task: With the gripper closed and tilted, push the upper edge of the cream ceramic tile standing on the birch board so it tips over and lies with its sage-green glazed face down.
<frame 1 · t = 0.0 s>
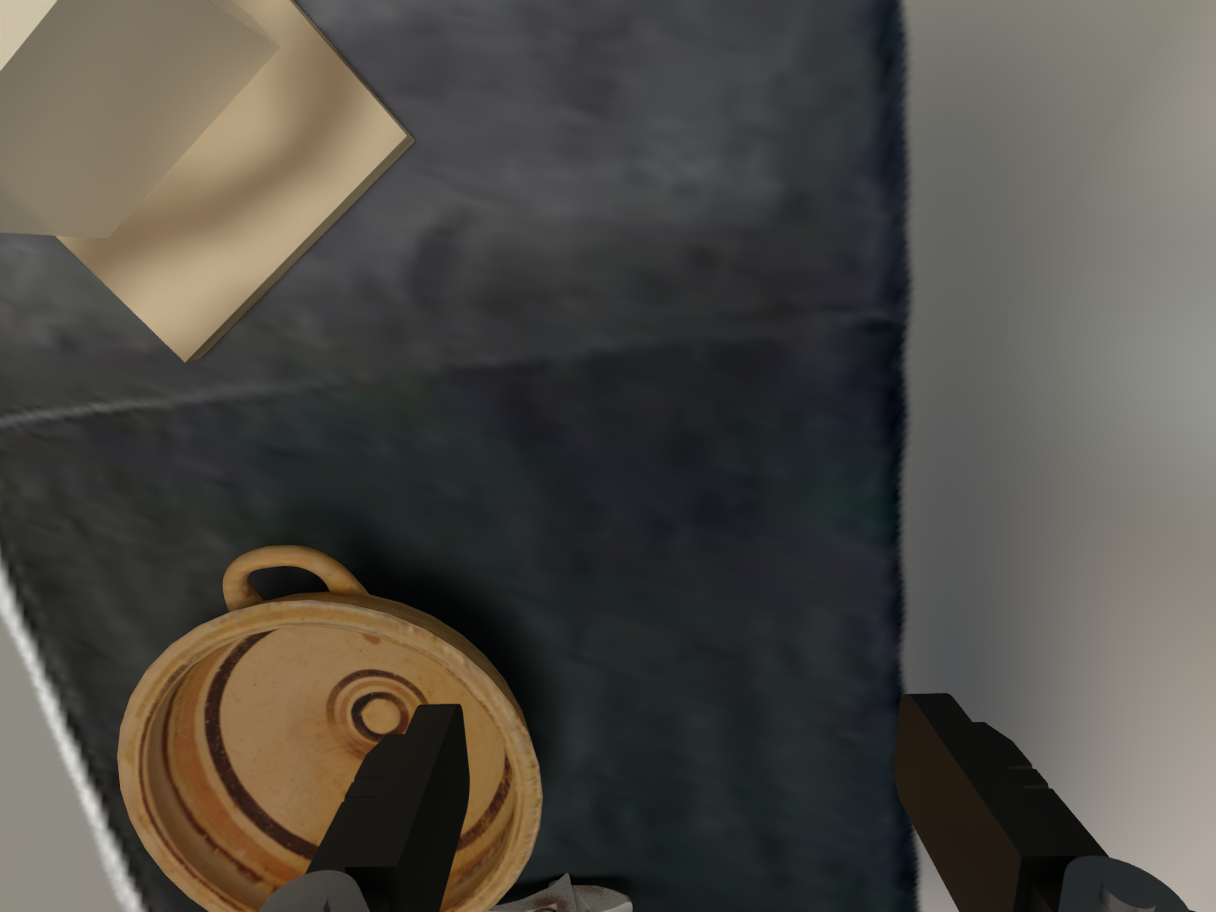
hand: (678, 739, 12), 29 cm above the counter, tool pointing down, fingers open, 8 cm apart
ceramic bowl: (377, 706, 47), on the counter
board: (135, 76, 36), on the counter
wrench: (444, 889, 51), on the counter
tile: (175, 130, 35), point 1 cm above the counter, touching board
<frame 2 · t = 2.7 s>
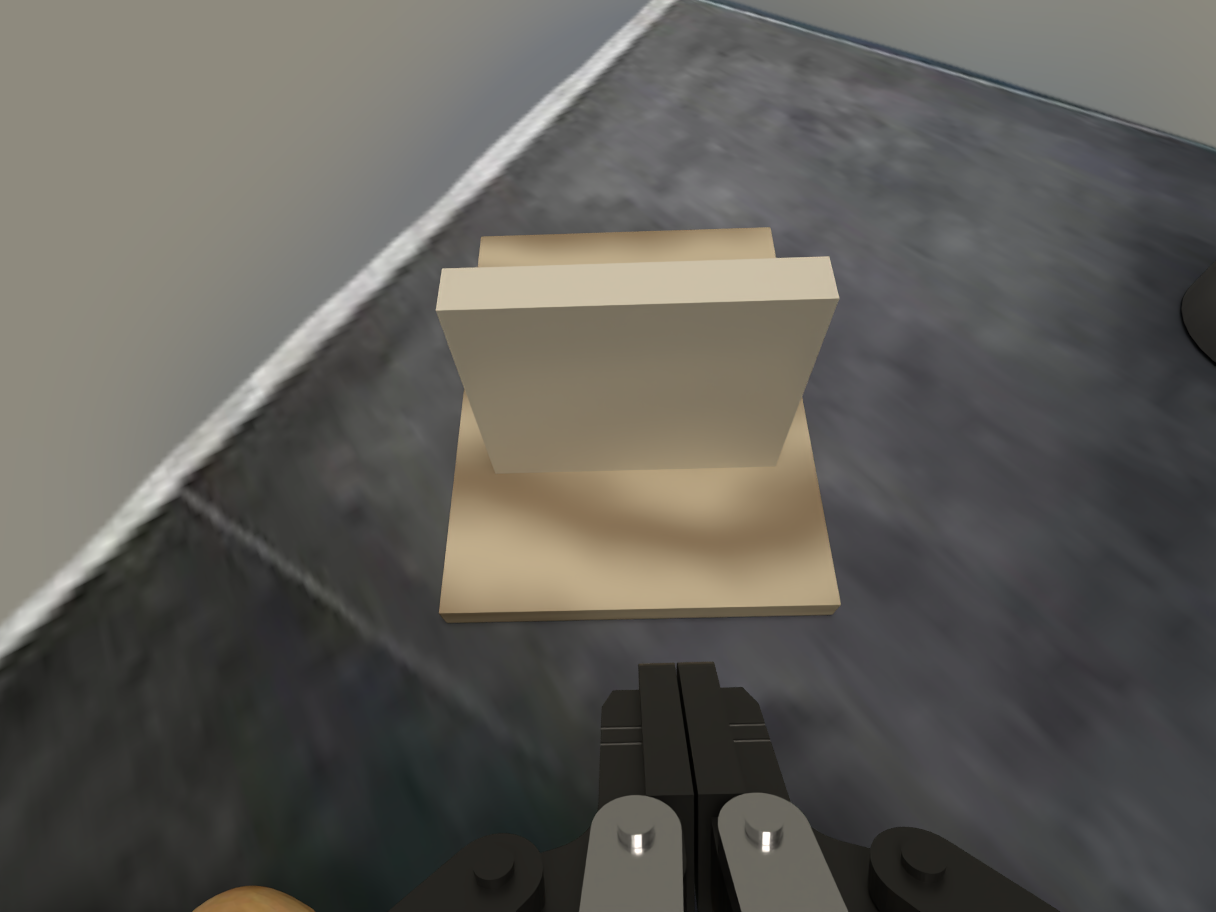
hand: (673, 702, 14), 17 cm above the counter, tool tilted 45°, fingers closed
board: (630, 405, 38), on the counter
tile: (634, 452, 35), point 1 cm above the counter, touching board
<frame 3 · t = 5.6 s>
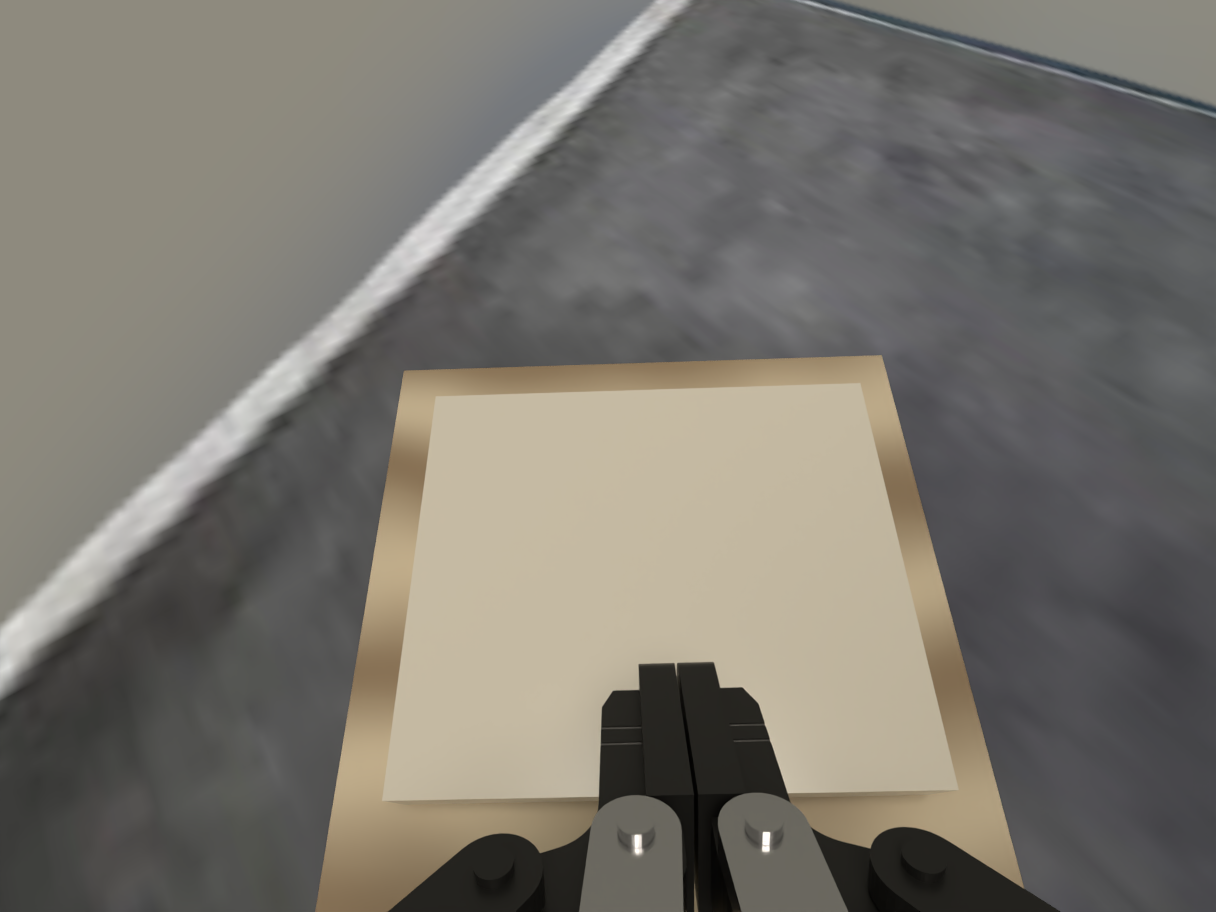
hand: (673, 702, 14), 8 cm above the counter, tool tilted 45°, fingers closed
board: (655, 704, 21), on the counter
tile: (666, 797, 17), point 3 cm above the counter, tilted 90°, touching board
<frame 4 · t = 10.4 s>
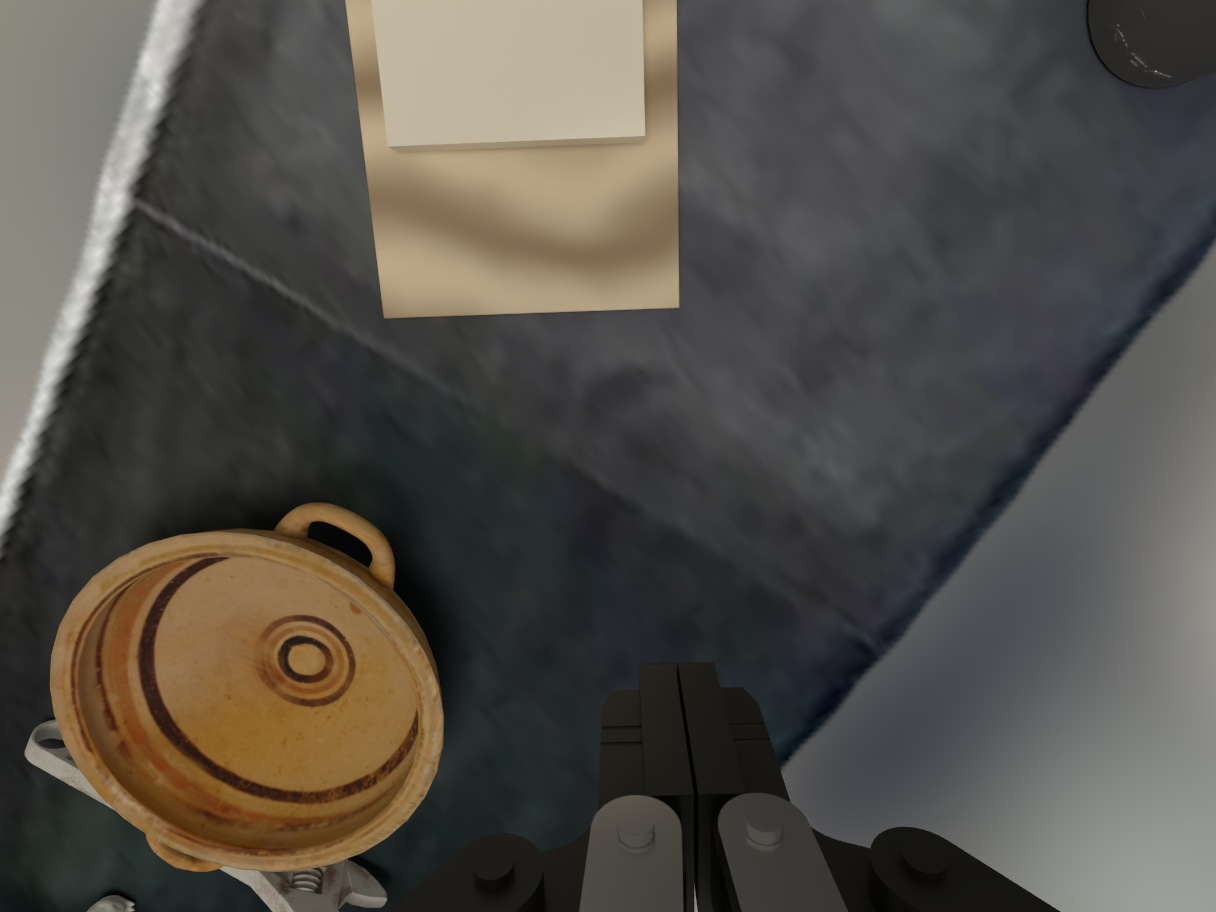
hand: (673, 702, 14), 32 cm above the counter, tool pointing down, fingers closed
ceramic bowl: (304, 646, 50), on the counter
board: (520, 101, 40), on the counter
wrench: (234, 800, 54), on the counter
tile: (518, 144, 38), point 3 cm above the counter, tilted 90°, touching board
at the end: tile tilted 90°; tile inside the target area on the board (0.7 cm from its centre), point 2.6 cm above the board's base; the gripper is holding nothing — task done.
